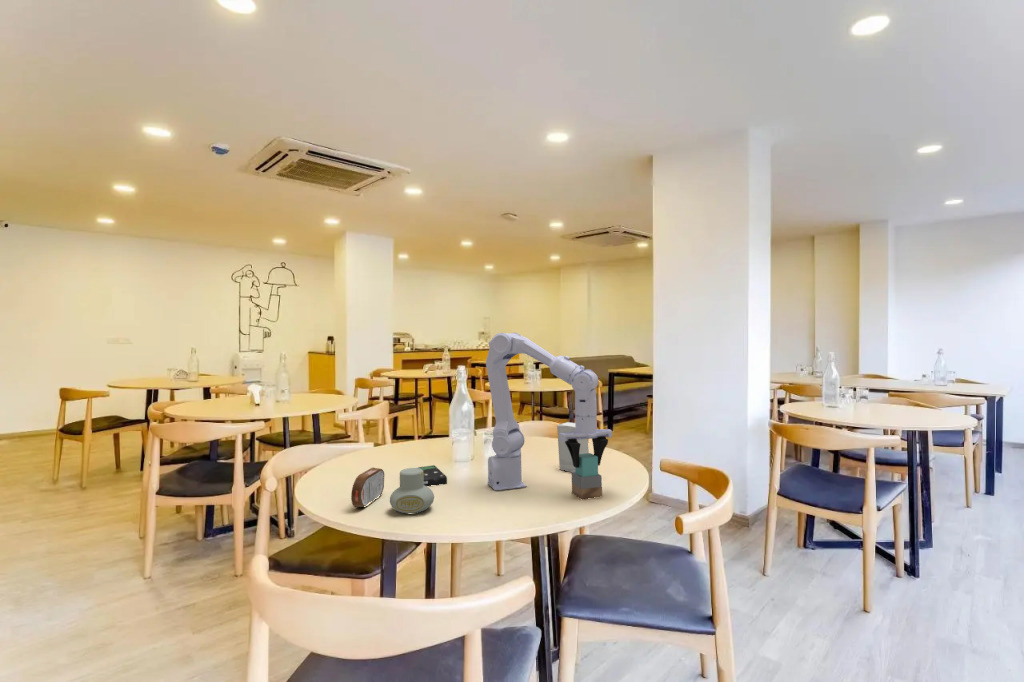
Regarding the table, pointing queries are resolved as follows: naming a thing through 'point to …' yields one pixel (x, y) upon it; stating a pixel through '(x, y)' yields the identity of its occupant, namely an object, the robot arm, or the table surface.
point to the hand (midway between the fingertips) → (586, 465)
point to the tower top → (586, 481)
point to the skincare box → (564, 453)
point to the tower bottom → (586, 492)
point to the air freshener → (411, 492)
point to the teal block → (587, 465)
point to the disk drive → (433, 476)
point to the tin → (367, 487)
